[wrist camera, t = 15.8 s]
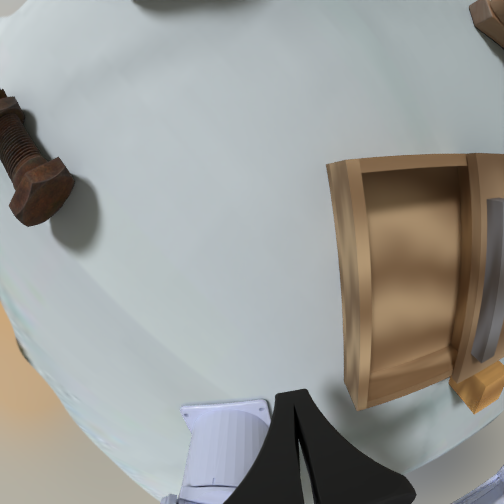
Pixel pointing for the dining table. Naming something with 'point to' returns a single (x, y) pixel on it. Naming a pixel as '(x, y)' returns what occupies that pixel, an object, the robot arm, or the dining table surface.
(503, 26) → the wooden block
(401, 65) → the dining table surface
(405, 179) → the brown wooden open box
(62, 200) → the bolt
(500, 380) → the brown block
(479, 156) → the lid
